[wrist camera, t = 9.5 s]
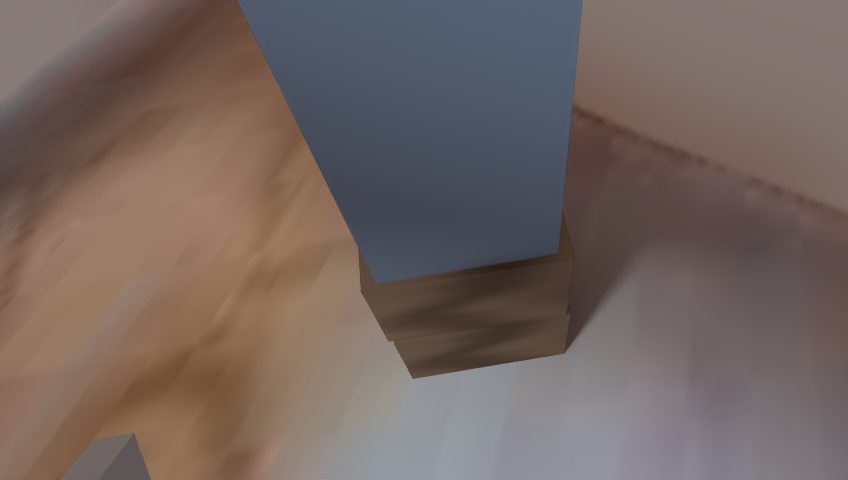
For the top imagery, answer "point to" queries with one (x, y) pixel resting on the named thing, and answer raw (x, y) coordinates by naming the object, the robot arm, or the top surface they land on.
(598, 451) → the top surface
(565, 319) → the tower base
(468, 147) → the blue block
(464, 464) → the top surface
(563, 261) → the tower top
